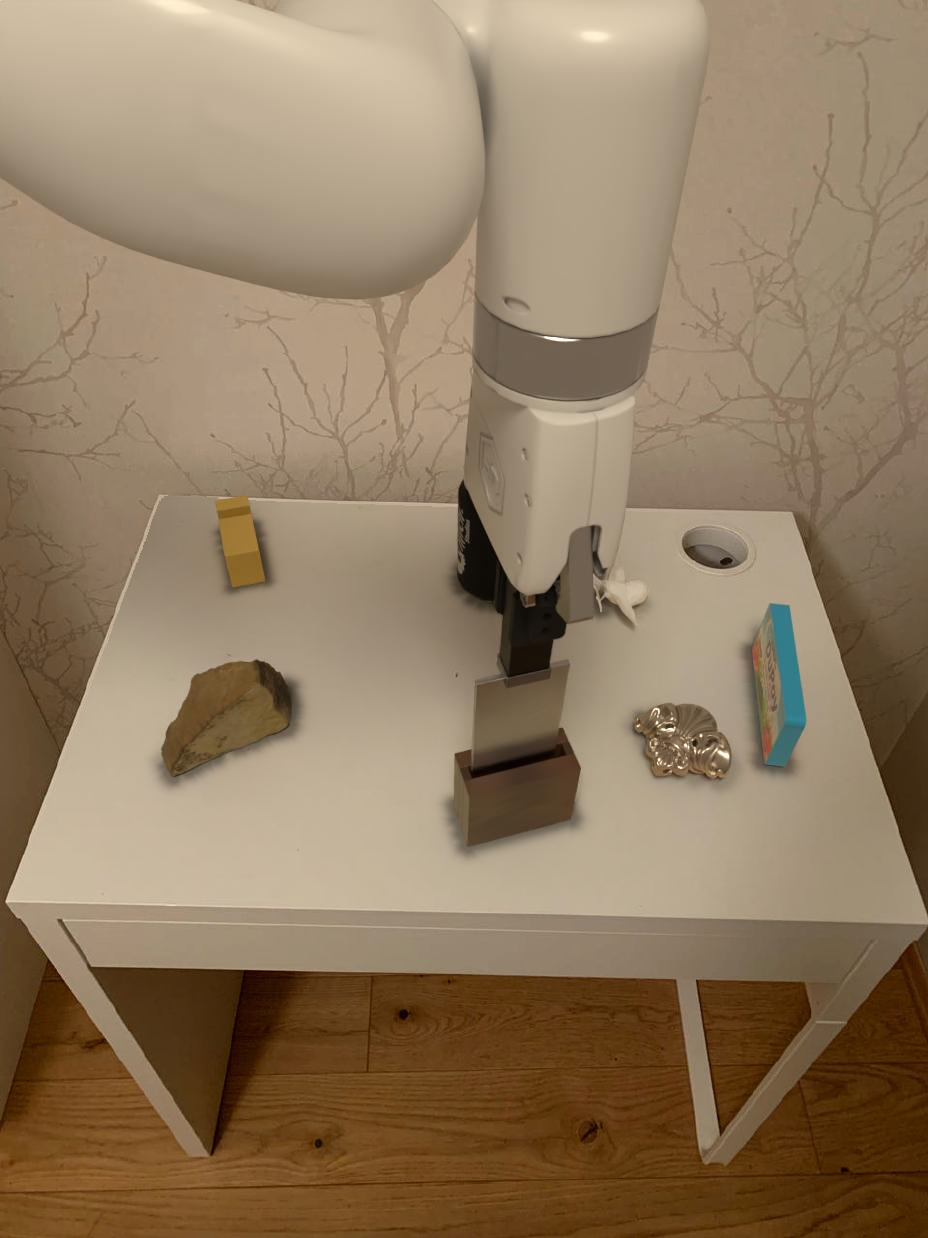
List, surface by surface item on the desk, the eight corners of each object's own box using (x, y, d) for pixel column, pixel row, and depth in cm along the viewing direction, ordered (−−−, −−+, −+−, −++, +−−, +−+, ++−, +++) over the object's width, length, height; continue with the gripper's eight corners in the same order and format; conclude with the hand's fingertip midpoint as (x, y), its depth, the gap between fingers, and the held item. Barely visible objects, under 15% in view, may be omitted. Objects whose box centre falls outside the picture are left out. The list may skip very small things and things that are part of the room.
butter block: (232, 588, 83) (224, 556, 80) (225, 551, 86) (218, 519, 83) (265, 581, 83) (259, 549, 80) (257, 545, 86) (251, 513, 83)
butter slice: (224, 542, 86) (216, 510, 84) (222, 532, 87) (214, 500, 84) (256, 536, 87) (249, 504, 84) (254, 526, 88) (247, 494, 85)
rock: (144, 797, 65) (281, 775, 65) (116, 683, 64) (256, 660, 64) (187, 746, 76) (305, 727, 76) (164, 647, 74) (284, 628, 74)
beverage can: (500, 617, 81) (507, 515, 72) (442, 584, 83) (442, 481, 74) (542, 575, 84) (553, 473, 75) (485, 545, 87) (489, 443, 78)
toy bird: (660, 631, 79) (649, 597, 76) (608, 646, 80) (595, 612, 77) (642, 566, 84) (632, 531, 81) (594, 580, 85) (581, 546, 82)
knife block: (467, 847, 66) (469, 796, 61) (453, 805, 68) (454, 752, 63) (570, 820, 67) (581, 768, 62) (554, 779, 70) (562, 726, 64)
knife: (475, 784, 61) (488, 576, 46) (466, 760, 63) (476, 549, 48) (558, 764, 63) (597, 554, 48) (548, 740, 64) (583, 529, 49)
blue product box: (783, 769, 71) (807, 722, 66) (764, 767, 71) (786, 720, 66) (769, 651, 79) (789, 602, 74) (751, 649, 79) (770, 600, 74)
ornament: (608, 754, 71) (615, 727, 69) (655, 700, 75) (663, 673, 72) (698, 813, 68) (709, 787, 65) (742, 754, 71) (754, 727, 69)
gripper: (426, 253, 42) (428, 542, 56) (542, 460, 32) (510, 750, 46) (576, 235, 44) (543, 521, 58) (731, 428, 34) (646, 718, 48)
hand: (528, 621), depth 52 cm, fingers closed on knife, 1 cm apart
